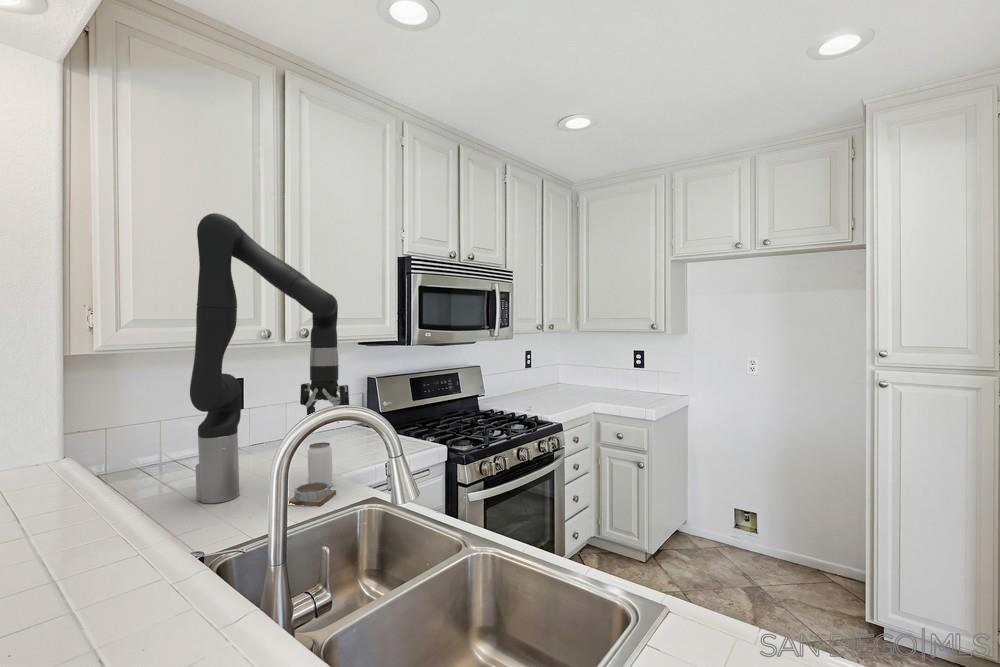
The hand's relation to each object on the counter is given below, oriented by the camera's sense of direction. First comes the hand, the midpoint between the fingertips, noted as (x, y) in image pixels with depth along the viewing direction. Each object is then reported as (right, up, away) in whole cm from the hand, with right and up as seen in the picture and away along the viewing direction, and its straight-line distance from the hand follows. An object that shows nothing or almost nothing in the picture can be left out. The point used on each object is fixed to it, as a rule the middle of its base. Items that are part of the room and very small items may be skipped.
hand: (324, 421), depth 137 cm
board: (0, -19, -8) cm, 21 cm away
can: (-2, -19, +2) cm, 20 cm away
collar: (0, -18, -8) cm, 20 cm away
